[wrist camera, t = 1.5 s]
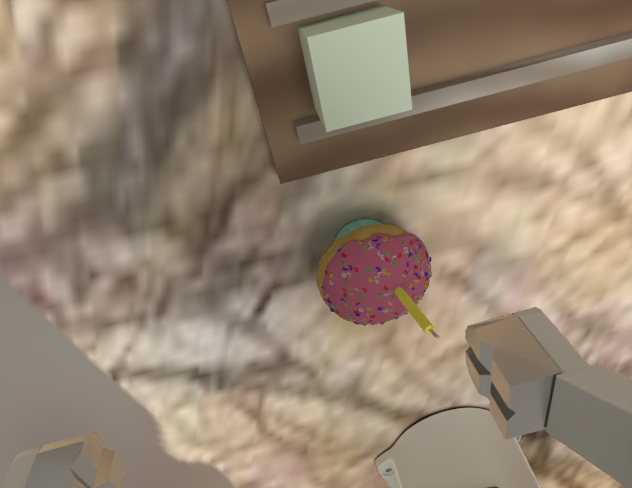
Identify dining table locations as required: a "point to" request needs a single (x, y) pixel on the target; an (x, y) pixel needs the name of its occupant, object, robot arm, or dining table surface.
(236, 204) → the dining table surface
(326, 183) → the dining table surface
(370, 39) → the block
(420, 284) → the cupcake
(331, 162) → the guide board
